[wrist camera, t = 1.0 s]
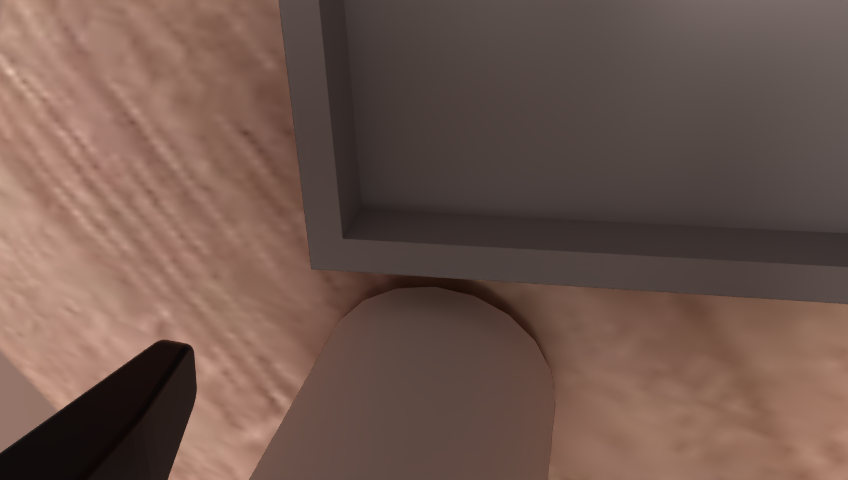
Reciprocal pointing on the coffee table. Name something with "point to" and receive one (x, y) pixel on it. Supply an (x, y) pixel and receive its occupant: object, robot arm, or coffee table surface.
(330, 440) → the can
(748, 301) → the coffee table surface
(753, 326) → the coffee table surface
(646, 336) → the coffee table surface
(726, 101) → the tray
